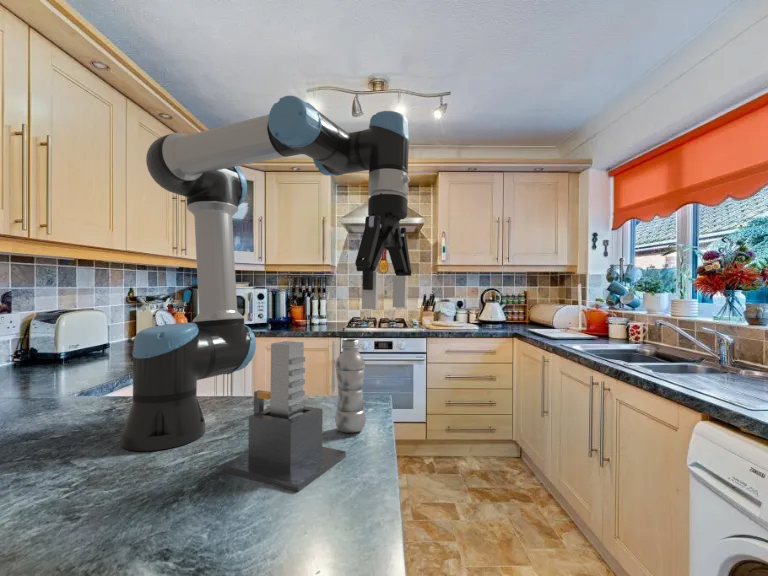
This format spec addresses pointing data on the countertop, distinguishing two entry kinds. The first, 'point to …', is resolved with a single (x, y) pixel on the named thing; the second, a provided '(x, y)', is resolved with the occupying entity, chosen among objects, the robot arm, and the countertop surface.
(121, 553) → the countertop surface
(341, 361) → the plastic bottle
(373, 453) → the countertop surface
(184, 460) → the countertop surface
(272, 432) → the stand
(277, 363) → the column
